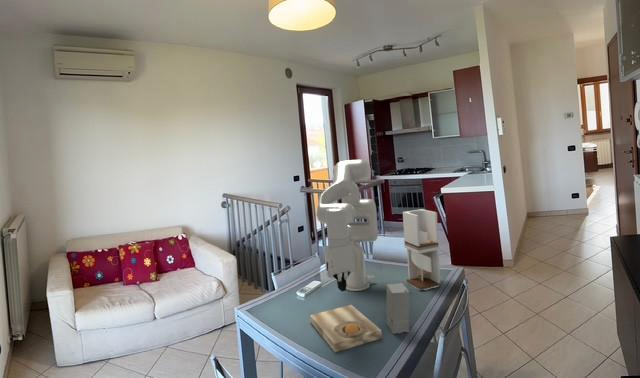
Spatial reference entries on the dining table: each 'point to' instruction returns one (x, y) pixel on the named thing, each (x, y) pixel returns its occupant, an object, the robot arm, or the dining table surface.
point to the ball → (351, 329)
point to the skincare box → (397, 308)
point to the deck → (335, 323)
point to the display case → (422, 248)
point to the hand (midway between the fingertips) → (342, 289)
